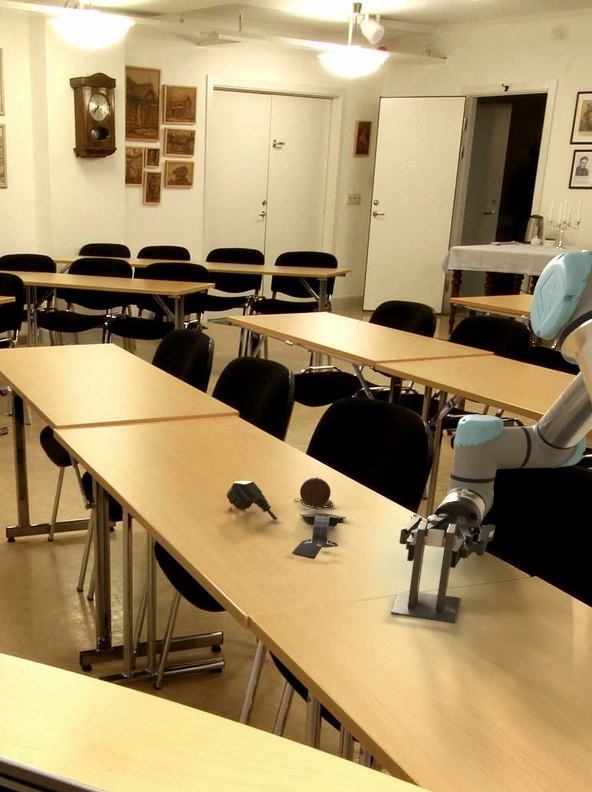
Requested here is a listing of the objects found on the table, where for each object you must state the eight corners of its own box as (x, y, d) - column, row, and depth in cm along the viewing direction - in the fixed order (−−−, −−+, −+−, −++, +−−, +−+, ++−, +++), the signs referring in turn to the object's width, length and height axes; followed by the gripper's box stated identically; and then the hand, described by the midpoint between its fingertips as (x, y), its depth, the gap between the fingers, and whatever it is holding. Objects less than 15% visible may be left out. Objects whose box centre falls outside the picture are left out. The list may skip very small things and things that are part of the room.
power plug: (269, 520, 182) (232, 476, 186) (250, 543, 187) (215, 501, 192) (286, 513, 185) (250, 471, 189) (267, 536, 190) (233, 495, 195)
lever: (420, 548, 147) (422, 533, 147) (456, 552, 145) (458, 537, 145) (414, 543, 136) (416, 527, 135) (453, 547, 133) (456, 531, 133)
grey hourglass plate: (291, 558, 164) (292, 540, 162) (300, 515, 185) (301, 499, 184) (343, 562, 161) (345, 544, 160) (346, 517, 183) (347, 501, 182)
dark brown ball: (334, 502, 194) (337, 469, 191) (327, 514, 187) (330, 479, 185) (296, 499, 197) (299, 466, 194) (289, 510, 191) (291, 476, 188)
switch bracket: (399, 596, 146) (409, 514, 141) (459, 604, 142) (472, 520, 137) (390, 619, 138) (400, 532, 133) (453, 628, 134) (467, 540, 129)
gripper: (406, 489, 163) (373, 524, 145) (520, 502, 154) (500, 542, 135) (401, 529, 166) (368, 568, 147) (513, 544, 157) (492, 589, 138)
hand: (431, 556), depth 142 cm, fingers closed on lever, 6 cm apart
